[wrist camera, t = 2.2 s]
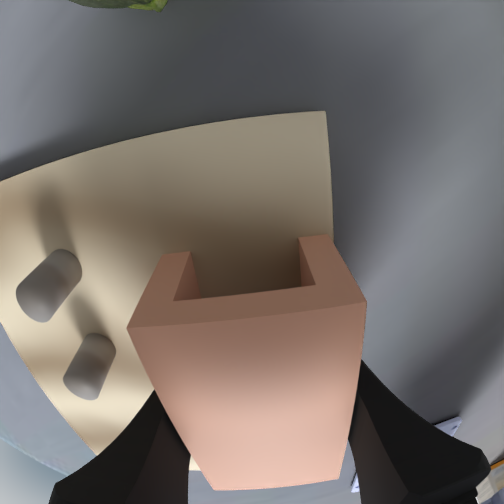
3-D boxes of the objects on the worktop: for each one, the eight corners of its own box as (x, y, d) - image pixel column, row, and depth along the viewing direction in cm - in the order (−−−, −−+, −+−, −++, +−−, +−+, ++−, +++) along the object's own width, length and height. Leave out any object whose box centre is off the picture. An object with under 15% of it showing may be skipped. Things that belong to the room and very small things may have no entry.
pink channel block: (325, 413, 15) (338, 478, 11) (217, 424, 15) (214, 490, 11) (327, 234, 10) (366, 301, 7) (162, 254, 11) (125, 328, 7)
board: (322, 451, 18) (329, 491, 15) (105, 453, 19) (95, 488, 16) (319, 110, 9) (351, 112, 6) (-37, 197, 10) (-82, 223, 7)
